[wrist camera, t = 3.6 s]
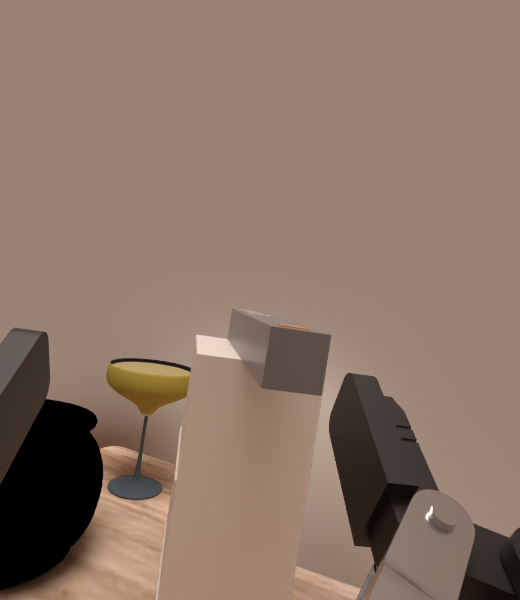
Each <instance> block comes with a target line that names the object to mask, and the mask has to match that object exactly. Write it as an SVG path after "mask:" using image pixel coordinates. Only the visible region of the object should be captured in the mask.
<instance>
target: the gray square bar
mask: <svg viewBox="0 0 520 600" xmlns="http://www.w3.org/2000/svg"><path fill="white" fill-rule="evenodd" d="M330 340H331V335H329V334H326V333H323V332H320V331H317V330H314V329H310V328H307V327H304V326H301V325H298V324H294V323H291V322H288V321H285V320H282V319H279V318H275V317H272V316H269V315H266V314H263V313H259V312H254V311H248V310H241V309H239V310H237V309H232V314H231V320H230V326H229V333H228V341H229V342H230V343H231V345H232V346H233V348H234V349H235V351H236V352H237V354H238V355H239V357H240V358H241V360H242V361H243V362H244V364H245V365H246V367H247V368H248V370H249V371H250V373H251V374H252V376H253V377H254V378H255V380H256V381H257V383H258V384H259V386H260V387H261V388H262V389H270V390H278V391H286V392H293V393H301V394H309V395H317V396H322V391H323V385H324V378H325V372H326V366H327V359H328V352H329V345H330Z"/></svg>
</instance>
